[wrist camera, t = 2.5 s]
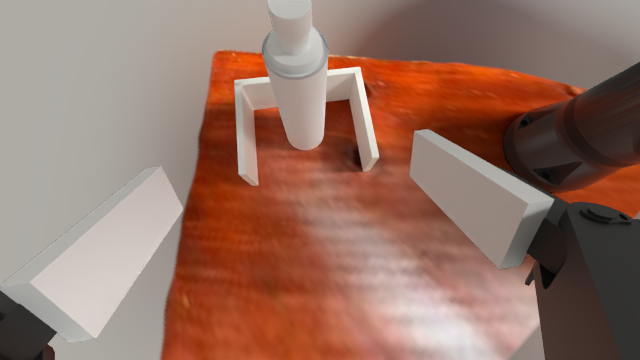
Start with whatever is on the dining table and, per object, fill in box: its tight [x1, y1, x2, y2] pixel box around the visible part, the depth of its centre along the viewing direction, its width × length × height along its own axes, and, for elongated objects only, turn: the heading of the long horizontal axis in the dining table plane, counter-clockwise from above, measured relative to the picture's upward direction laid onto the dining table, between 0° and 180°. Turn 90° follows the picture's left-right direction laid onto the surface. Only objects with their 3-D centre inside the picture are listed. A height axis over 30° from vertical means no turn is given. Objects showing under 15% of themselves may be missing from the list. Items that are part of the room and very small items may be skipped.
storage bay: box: [234, 67, 379, 186], centre depth 37 cm, size 20×16×7 cm
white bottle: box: [262, 0, 328, 150], centre depth 29 cm, size 7×7×25 cm
